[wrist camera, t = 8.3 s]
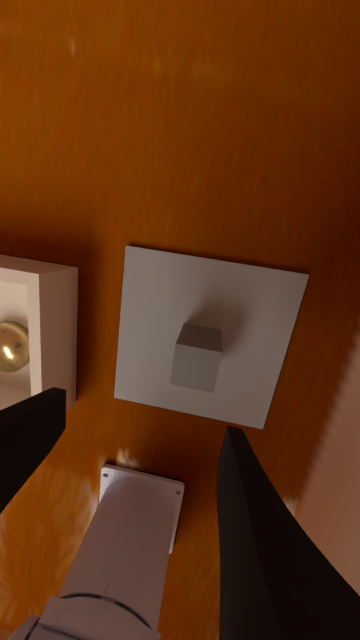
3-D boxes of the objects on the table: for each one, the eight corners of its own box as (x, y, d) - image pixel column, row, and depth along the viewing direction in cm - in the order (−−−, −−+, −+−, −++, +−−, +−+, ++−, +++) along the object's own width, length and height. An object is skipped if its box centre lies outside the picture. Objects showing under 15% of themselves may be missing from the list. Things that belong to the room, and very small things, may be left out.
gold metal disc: (34, 372, 21) (24, 379, 20) (-10, 357, 22) (-22, 363, 20) (39, 329, 20) (29, 334, 19) (-7, 314, 20) (-20, 318, 19)
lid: (260, 421, 22) (273, 471, 17) (118, 391, 23) (92, 430, 18) (304, 273, 18) (336, 284, 13) (130, 245, 19) (101, 246, 14)
